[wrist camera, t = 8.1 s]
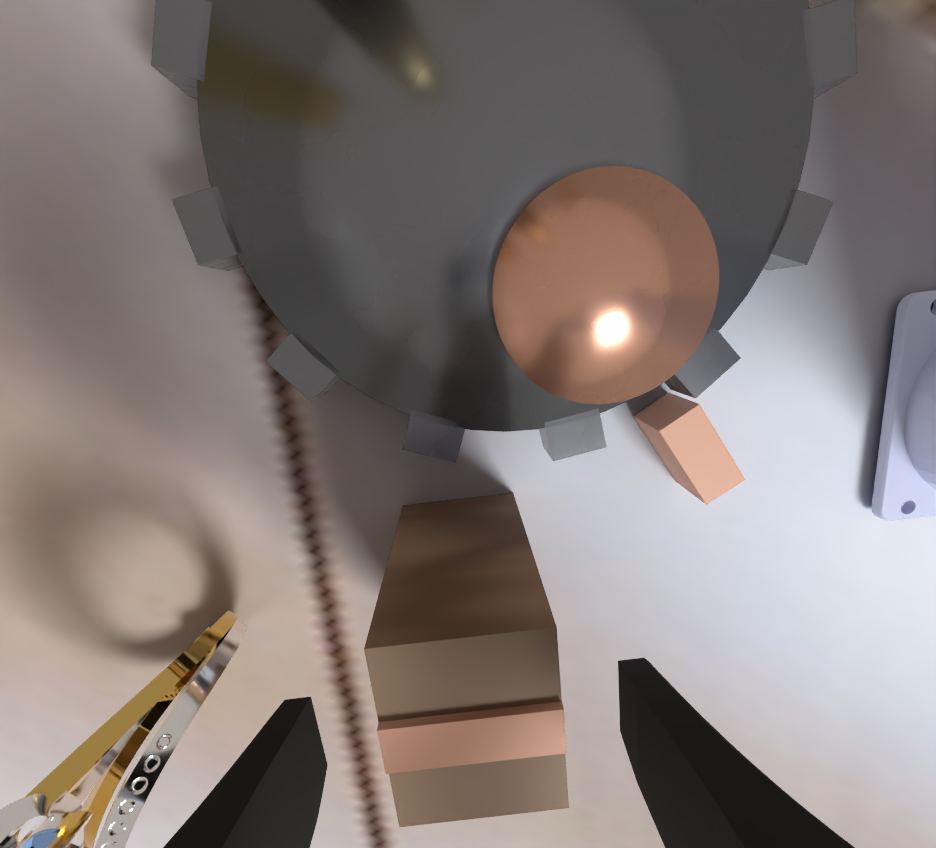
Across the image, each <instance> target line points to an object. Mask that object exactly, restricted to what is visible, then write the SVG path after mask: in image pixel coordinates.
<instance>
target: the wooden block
mask: <svg viewBox="0 0 936 848" xmlns="http://www.w3.org/2000/svg"><path fill="white" fill-rule="evenodd" d="M364 651H365V656H366V661H367V666H368V671H369V676H370V681H371V686H372V691H373V696H374V701H375V706H376V711H377V716H378V721H379V723H378V729H377V732H378V737H379V742H380V747H381V752H382V757H383V762H384V767H385V772H386V774H388V773H389V776H390V781H391V786H392V791H393V796H394V802H395V807H396V812H397V817H398V822H399V827H405V826H414V825H423V824H431V823H440V822H449V821H458V820H467V819H475V818H484V817H493V816H502V815H511V814H519V813H528V812H537V811H546V810H555V809H563V808H569V803H568V789H567V774H566V759H565V753H567V750H566V735H565V721H564V709H563V705H562V701H561V686H560V672H559V657H558V642H557V628H556V624H555V621H554V618H553V615H552V612H551V609H550V606H549V603H548V600H547V596H546V593H545V590H544V587H543V584H542V581H541V578H540V575H539V572H538V569H537V565H536V562H535V559H534V556H533V553H532V550H531V547H530V544H529V541H528V538H527V535H526V531H525V528H524V525H523V522H522V519H521V516H520V513H519V510H518V507H517V504H516V501H515V497H514V494H513V493H508V494H499V495H490V496H481V497H472V498H464V499H455V500H446V501H437V502H428V503H419V504H410V505H403V507H402V511H401V515H400V518H399V522H398V526H397V529H396V533H395V537H394V540H393V544H392V548H391V552H390V555H389V559H388V563H387V566H386V570H385V574H384V577H383V581H382V585H381V589H380V592H379V596H378V600H377V603H376V607H375V611H374V615H373V618H372V622H371V626H370V629H369V633H368V637H367V640H366V644H365V648H364Z"/></svg>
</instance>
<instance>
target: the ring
mask: <svg viewBox="0 0 936 848" xmlns="http://www.w3.org/2000/svg"><path fill="white" fill-rule="evenodd" d="M246 629H247V625H246V624H244V623H243V622H242V621H241V620H239V619H238V617H237V616H236V615H234V614H233V613H232V612H231V611H229V610H228V611H227V612H226V613H225V614H223V615H222V616H221V617H220V618H219V619H218V620H217V621H216V622H215V623H214V624H213V625H212V626H208V627H207V628H206V629H205V630H204V631H203V632H202V633H201V634H200V635H199V636H198V637H197V638H196V640H195V642H194V643H193V644H192V645H191V646H190V647H189V648H188V649H187V650H186V651H185V652H184V653H182V654H181V655H180V656H179V657H178V658H177V659H176V660H175V661H174V662H172V663H171V664H170V665H169V666H168V667H167V668H166V669H165V670H164V671H162V672H161V673H160V674H159V675H158V676H157V677H156V678H155V679H154V680H152V681H151V682H150V683H149V684H148V685H147V686H146V687H145V688H144V689H142V690H141V691H140V692H139V693H138V694H137V695H136V696H135V697H134V698H132V699H131V700H130V701H129V702H128V703H127V704H126V705H125V706H124V707H122V708H121V709H120V710H119V711H118V712H117V713H116V714H115V715H114V716H112V717H111V718H110V719H109V720H108V721H107V722H106V723H105V724H104V725H103V726H101V727H100V728H99V729H98V730H97V731H96V732H95V733H94V734H93V735H92V736H90V737H89V738H88V739H87V740H86V741H85V742H84V743H83V744H82V745H81V746H79V747H78V748H77V749H76V750H75V751H74V752H73V753H72V754H71V755H70V756H69V757H67V758H66V759H65V760H64V761H63V762H62V763H61V764H60V765H59V766H58V767H57V768H56V769H54V770H53V771H52V772H51V773H50V774H49V775H48V776H47V777H46V778H45V779H44V780H43V781H42V782H40V783H39V784H38V785H37V786H36V787H35V788H34V789H33V790H32V791H31V792H30V793H29V794H28V795H27V796H26V797H24V798H22V799H20V800H17V801H15V802H13V803H11V804H9V805H7V806H6V807H4V808H2V809H1V810H0V848H93V846H94V841H95V838H96V834H97V831H98V828H99V825H100V823H101V820H102V817H103V815H104V813H105V810H106V808H107V806H108V803H109V801H110V799H111V797H112V795H113V793H114V791H115V789H116V787H117V785H118V783H119V781H120V779H121V778H122V776H123V774H124V772H125V770H126V769H127V767H128V765H129V764H130V762H131V760H132V759H133V757H134V755H135V754H136V752H137V751H138V749H139V747H140V746H141V744H142V743H143V741H144V740H145V738H146V737H147V735H148V734H149V732H150V731H151V729H152V728H153V727H154V725H155V724H156V722H157V721H158V719H159V718H160V717H161V715H162V714H163V713H164V711H165V710H166V709H167V707H168V706H169V705H170V703H171V702H172V701H173V699H174V698H175V697H176V696H177V694H178V693H179V692H180V691H181V689H182V688H183V687H184V686H185V687H184V688H183V689H182V691H181V692H180V694H179V695H178V696H177V698H176V699H175V701H174V702H173V703H172V705H171V706H170V708H169V709H168V711H167V712H166V713H165V715H164V716H163V718H162V719H161V721H160V722H159V724H158V725H157V727H156V728H155V730H154V731H153V733H152V735H151V736H150V738H149V739H148V741H147V742H146V744H145V746H144V747H143V749H142V751H141V752H140V754H139V756H138V757H137V759H136V761H135V762H134V764H133V766H132V768H131V769H130V771H129V773H128V775H127V777H126V779H125V780H124V782H123V784H122V786H121V788H120V790H119V792H118V794H117V796H116V798H115V801H114V803H113V805H112V807H111V809H110V812H109V814H108V816H107V819H106V821H105V824H104V826H103V829H102V831H101V834H100V836H99V839H98V841H97V844H96V846H95V848H125V845H126V843H127V840H128V838H129V835H130V833H131V831H132V829H133V826H134V824H135V822H136V820H137V818H138V815H139V813H140V811H141V809H142V807H143V805H144V803H145V801H146V799H147V797H148V795H149V793H150V791H151V789H152V788H153V786H154V784H155V782H156V780H157V778H158V776H159V775H160V773H161V771H162V769H163V768H164V766H165V764H166V762H167V761H168V759H169V757H170V755H171V754H172V752H173V750H174V749H175V747H176V745H177V744H178V742H179V740H180V739H181V737H182V735H183V734H184V732H185V730H186V729H187V727H188V726H189V724H190V722H191V721H192V719H193V718H194V716H195V714H196V713H197V711H198V710H199V708H200V707H201V705H202V703H203V702H204V700H205V699H206V697H207V696H208V694H209V693H210V691H211V690H212V688H213V686H214V685H215V683H216V682H217V680H218V679H219V677H220V676H221V674H222V673H223V671H224V669H225V668H226V666H227V665H228V663H229V661H230V660H231V658H232V657H233V655H234V653H235V652H236V650H237V648H238V646H239V645H240V643H241V641H242V639H243V637H244V635H245V632H246ZM187 682H188V683H187ZM186 683H187V684H186ZM95 784H96V785H95ZM93 787H94V788H93ZM92 788H93V789H92ZM91 790H92V791H91ZM90 791H91V793H90V794H89V792H90ZM88 794H89V796H88V798H87V799H86V801H85V803H84V804H83V806H81V803H82V802H83V800H84V799H85V798H86V796H87V795H88ZM41 815H42V816H44V817H43V818H42V819H41V820H40V821H39V823H38V824H37V825H36V826H35V827H34V828H33V829H32V830H31V831H30V832H29V833H28V834H27V835H26V836H25V837H24V838H23V840H21V841H20V842H18V834H19V831H20V829H21V827H22V826H23V825H24V824H25V823H26V822H27V821H28V820H30V819H31V818H34V817H36V816H41Z"/></svg>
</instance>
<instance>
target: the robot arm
mask: <svg viewBox="0 0 936 848" xmlns="http://www.w3.org/2000/svg"><path fill="white" fill-rule="evenodd" d="M932 302H933V303H934V306H933V309H932V311H931V310H930V307H931V304H932ZM903 504H904V505H903ZM902 505H903V506H902ZM872 512H873V513H874V515H876V516H877V517H879V518H881V519H883V520H886V521H897V520H906V519H915V518H924V517H932V516H936V290H931V291H922V292H914V293H911V294H908V295H907V296H905V297H904V298H903V299H902V300H901V301H900V303H899V304H898V308H897V312H896V320H895V328H894V335H893V343H892V351H891V359H890V367H889V375H888V382H887V390H886V398H885V406H884V414H883V421H882V429H881V437H880V445H879V453H878V460H877V468H876V476H875V484H874V492H873V499H872ZM618 671H619V703H620V731H621V734H622V738H623V741H624V744H625V747H626V750H627V753H628V756H629V759H630V762H631V765H632V768H633V771H634V774H635V777H636V780H637V783H638V785H639V788H640V790H641V792H642V795H643V797H644V799H645V802H646V804H647V806H648V809H649V811H650V813H651V816H652V818H653V820H654V822H655V825H656V827H657V829H658V832H659V834H660V836H661V839H662V841H663V843H664V845H665V848H854V847H853V846H852V845H850V844H849V843H848V842H847V841H845V840H844V839H843V838H841V837H840V836H839V835H837V834H836V833H835V832H834V831H832V830H831V829H830V828H829V827H827V826H826V825H825V824H824V823H822V822H821V821H820V820H818V819H817V818H816V817H815V816H813V815H812V814H811V813H810V812H808V811H807V810H806V809H805V808H804V807H802V806H801V805H800V804H799V803H797V802H796V801H795V800H794V799H793V798H791V797H790V796H789V795H788V794H787V793H786V792H784V791H783V790H782V789H781V788H780V787H778V786H777V785H776V784H775V783H774V782H773V781H772V780H770V779H769V778H768V777H767V776H766V775H765V774H764V773H762V772H761V771H760V770H759V769H758V768H757V767H756V766H755V765H753V764H752V763H751V762H750V761H749V760H748V759H747V758H746V757H745V756H743V755H742V754H741V753H740V752H739V751H738V750H737V749H736V748H735V747H734V746H733V745H731V744H730V743H729V742H728V741H727V740H726V739H725V738H724V737H723V736H722V735H721V734H720V733H719V732H718V731H717V730H716V729H715V728H714V727H713V726H711V725H710V724H709V723H708V722H707V721H706V720H705V719H704V718H703V717H702V716H701V715H700V714H699V713H698V712H697V711H696V710H695V709H694V708H693V707H692V706H691V705H690V704H689V703H688V702H687V701H686V700H685V699H684V698H683V697H682V696H681V695H680V694H679V693H678V692H677V691H676V690H675V689H674V688H673V687H672V686H671V684H670V683H669V682H668V681H667V680H666V679H665V678H664V677H663V676H662V675H661V674H660V673H659V672H658V671H657V670H656V669H655V668H654V667H653V666H652V664H651V663H650V662H649V661H647V660H646V659H645V658H639V659H630V660H622V661H618ZM326 770H327V762H326V757H325V753H324V749H323V745H322V741H321V737H320V733H319V729H318V725H317V721H316V716H315V712H314V708H313V704H312V700H311V697H306V698H297V699H289V700H284V702H283V703H282V704H281V705H280V706H279V708H278V709H277V710H276V711H275V713H274V714H273V715H272V716H271V718H270V719H269V720H268V721H267V723H266V724H265V725H264V726H263V728H262V729H261V730H260V732H259V733H258V734H257V735H256V737H255V738H254V739H253V740H252V742H251V743H250V744H249V746H248V747H247V748H246V749H245V751H244V752H243V753H242V754H241V756H240V757H239V758H238V759H237V761H236V762H235V763H234V764H233V766H232V767H231V768H230V769H229V771H228V772H227V773H226V774H225V775H224V777H223V778H222V779H221V780H220V782H219V783H218V784H217V785H216V786H215V788H214V789H213V790H212V791H211V793H210V794H209V795H208V796H207V798H206V799H205V800H204V801H203V802H202V804H201V805H200V806H199V807H198V808H197V809H196V811H195V812H194V813H193V814H192V815H191V816H190V818H189V819H188V820H187V821H186V822H185V823H184V824H183V826H182V827H181V828H180V829H179V830H178V831H177V833H176V834H175V835H174V836H173V837H172V838H171V839H170V841H169V842H168V843H167V844H166V845H165V846H164V847H163V848H309V847H310V844H311V840H312V837H313V833H314V830H315V826H316V822H317V818H318V813H319V808H320V803H321V798H322V793H323V787H324V781H325V776H326Z"/></svg>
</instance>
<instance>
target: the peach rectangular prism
mask: <svg viewBox="0 0 936 848" xmlns="http://www.w3.org/2000/svg"><path fill="white" fill-rule="evenodd" d="M633 417H634V418H635V420H636V421H637V423H638V424H639V426H640V427H641V429H642V430H643V432H644V433H645V435H646V437H647V438H648V440H649V441H650V443H651V444H652V446H653V447H654V449H655V450H656V452H657V453H658V455H659V456H660V458H661V459H662V461H663V463H664V464H665V466H666V467H667V469H668V470H669V472H670V473H671V475H672V476H673V478H674V479H675V481H676V482H677V483H679V484H680V485H681V486H683V487H684V488H685V489H687V490H688V491H689V492H691V493H692V494H693V495H695V496H696V497H697V498H698V499H700V500H701V501H702V502H704V503H705V504H708V503H710V502H711V501H713V500H714V499H716V498H717V497H719V496H721V495H722V494H724V493H725V492H727V491H728V490H730V489H731V488H733V487H735V486H736V485H738V484H739V483H741V482H742V481H744V480H745V478H744V477H743V475H742V473H741V472H740V470H739V468H738V467H737V465H736V463H735V462H734V460H733V459H732V457H731V455H730V454H729V452H728V450H727V449H726V447H725V445H724V444H723V442H722V440H721V439H720V437H719V435H718V434H717V432H716V431H715V429H714V427H713V426H712V424H711V422H710V421H709V419H708V417H707V416H706V414H705V412H704V411H703V409H702V408H701V406H700V404H697V403H695V402H692V401H689V400H687V399H684V398H681V397H679V396H676V395H673V394H671V393H667V394H665V395H664V396H662V397H661V398H659V399H658V400H656V401H655V402H653V403H652V404H651V405H649V406H648V407H646V408H645V409H643V410H642V411H640V412H639V413H637V414H636V415H634V416H633Z"/></svg>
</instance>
